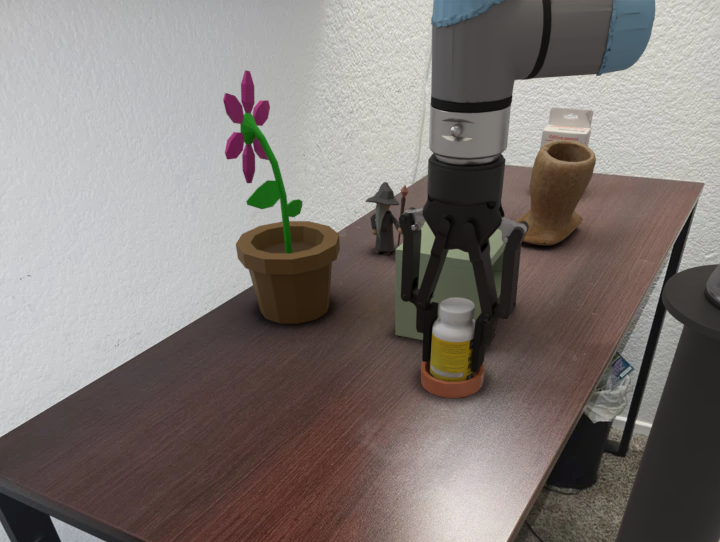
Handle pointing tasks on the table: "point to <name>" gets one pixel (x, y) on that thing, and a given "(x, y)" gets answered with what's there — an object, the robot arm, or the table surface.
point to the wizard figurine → (386, 218)
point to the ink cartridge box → (568, 126)
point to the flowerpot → (279, 228)
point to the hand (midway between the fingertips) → (452, 361)
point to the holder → (450, 383)
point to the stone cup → (557, 190)
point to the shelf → (445, 280)
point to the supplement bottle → (453, 341)
